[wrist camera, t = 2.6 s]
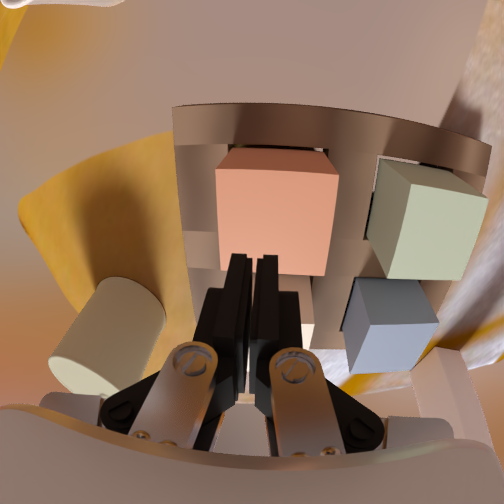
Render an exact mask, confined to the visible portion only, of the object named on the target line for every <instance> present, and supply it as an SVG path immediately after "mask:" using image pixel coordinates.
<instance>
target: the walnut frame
mask: <svg viewBox="0 0 504 504" xmlns="http://www.w3.org/2000/svg"><path fill="white" fill-rule="evenodd" d="M172 116H173V134H174V149H175V162H176V174H177V185H178V195H179V205H180V214H181V223H182V231H183V239H184V247H185V254H186V261H187V268H188V275H189V282H190V288H191V295H192V301H193V307H194V313H195V318H196V324H197V323H198V320H199V316H200V313H201V310H202V306H203V303H204V299H205V296H206V293H207V290H208V288H209V287H213V288H223V287H224V283H225V279H226V275H227V271H222V270H221V266H220V251H219V235H218V217H217V197H216V174H215V169H216V168H217V166H218V165H219V164H220V163H221V161H222V160H223V159H224V158H225V156H226V155H227V154H228V153H229V152H230V150H231V149H232V148H234V145H233V144H260V145H285V146H301V147H315V148H323V152H324V153H325V155H326V156H327V158H328V159H329V161H330V162H331V163H332V165H333V166H334V168H335V169H336V171H337V172H338V174H339V181H338V189H337V197H336V205H335V212H334V219H333V226H332V233H331V239H330V246H329V252H328V258H327V263H326V269H325V275H324V276H311V275H309V276H310V285H311V294H312V303H313V313H314V324H315V325H314V329H313V334H312V338H311V342H310V347H309V349H346V347H345V341H344V335H343V330H342V326H343V323H344V319H345V316H346V314H344V313H345V309H346V306H347V302H348V298H349V295H350V291H351V287H352V283H353V280H354V277H379V278H387V277H386V275H385V273H384V271H383V269H382V267H381V264H380V262H379V260H378V258H377V256H376V254H375V252H374V250H373V248H372V246H371V244H370V242H369V240H368V238H367V236H366V234H367V229H368V226H366V222H367V217H368V211H369V206H370V200H371V195H372V188H373V182H374V176H375V169H376V161H377V155H384V156H390V157H396V158H402V159H408V160H413V161H419V162H424V163H429V164H433V165H438V167H437V169H442V170H446V171H449V172H451V173H452V174H454V175H455V176H457V177H458V178H460V179H461V180H463V181H464V182H466V183H467V184H469V185H470V186H472V187H473V188H475V189H476V190H477V191H479V192H480V193H482V192H483V187H484V183H485V179H486V174H487V170H488V165H489V160H490V154H491V148H492V146H491V145H488V144H486V143H484V142H481V141H479V140H476V139H474V138H471V137H468V136H465V135H462V134H458V133H455V132H452V131H448V130H445V129H441V128H438V127H434V126H430V125H426V124H422V123H418V122H414V121H409V120H405V119H400V118H395V117H390V116H385V115H380V114H374V113H368V112H361V111H354V110H347V109H339V108H331V107H322V106H310V105H297V104H278V103H214V104H197V105H183V106H178V107H172ZM417 280H418V279H417ZM418 282H419V284H420V286H421V288H422V289H423V291H424V293H425V295H426V297H427V299H428V301H429V303H430V305H431V307H432V308H433V310H434V312H435V314H437V312H438V310H439V308H440V306H441V304H442V302H443V300H444V298H445V296H446V293H447V291H448V289H449V287H450V285H451V282H452V280H418Z"/></svg>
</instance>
